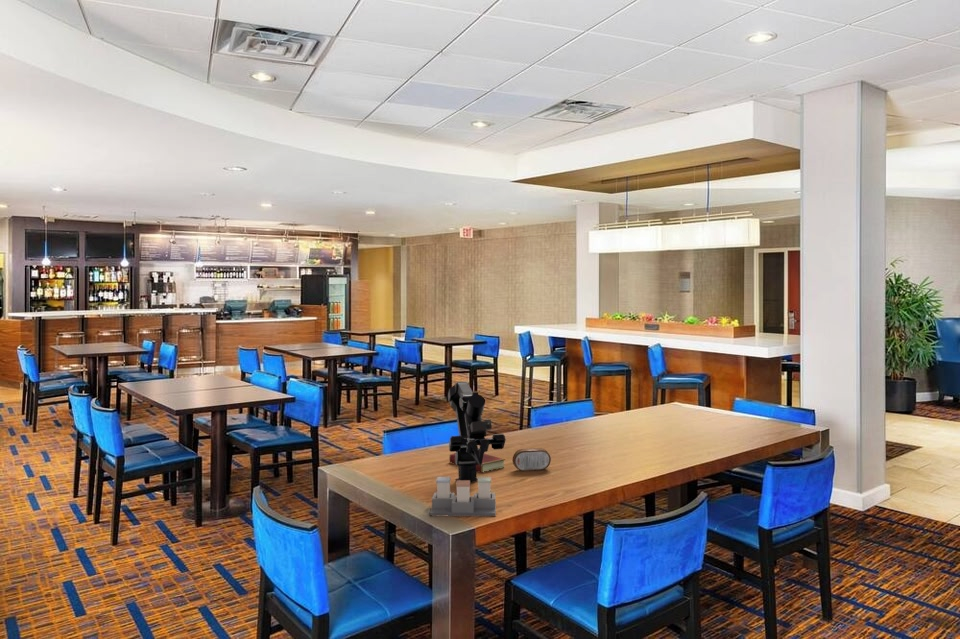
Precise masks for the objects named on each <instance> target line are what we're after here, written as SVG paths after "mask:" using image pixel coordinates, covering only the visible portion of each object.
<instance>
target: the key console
mask: <svg viewBox="0 0 960 639" xmlns="http://www.w3.org/2000/svg"><path fill="white" fill-rule="evenodd" d="M473 494H474V495H473V496H470V502H457V495H456V493H455V492H450V498H437V492H433V496H432V498H431V508H430V512H429V516H430V515H448V516H447V517H496V515H497V513H496V512H497V501H496V492H491V498H478V492H474V493H473Z"/></svg>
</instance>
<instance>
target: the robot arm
mask: <svg viewBox="0 0 960 639" xmlns="http://www.w3.org/2000/svg"><path fill="white" fill-rule="evenodd" d="M447 401H448V402H449V404H450V408H451V409H452V410H453V411H454V412H455V416H456V417H455V418H456V423H457V424H456V425H457V428H458V430H457V431H458V435H451V437H449V442H448V450H449V452H450V453H456V454H455V464H454V465H456V467H458V478H455V482H457V480H470V484H471V483H475V482H478V475H477V472H478V471H477V470H476V465H482V461H483V455H484V453H487V452H488V451H489V447H490V445H491V448H492V449H493V450H502V449H504V447H505V444H506V442H507V439H506V435H504V434H503V433H493V434H492V437H491V438H490V437H489V438H488V437H487V438H486V436H487V431H490V430H491V429H492V428H493V424H492V420H491V419H485V420H483V419H482V416H483V413H484V409H485V405H486V399H485V397H483V395H481V394H480V393H479V392H478V391H477V392H476V391H473V390H472V388H471V387H470V383H469V381H465V380H464V381H462V380H461V381H455V382H454V385H452V386H451V387H450V388H449V389H448V393H447Z"/></svg>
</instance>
